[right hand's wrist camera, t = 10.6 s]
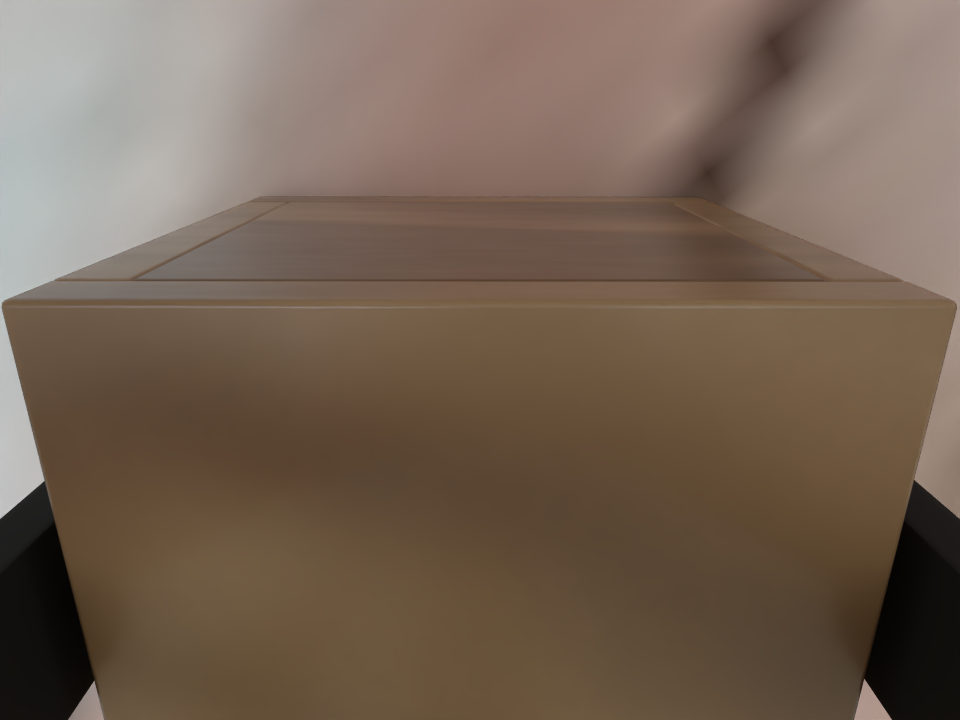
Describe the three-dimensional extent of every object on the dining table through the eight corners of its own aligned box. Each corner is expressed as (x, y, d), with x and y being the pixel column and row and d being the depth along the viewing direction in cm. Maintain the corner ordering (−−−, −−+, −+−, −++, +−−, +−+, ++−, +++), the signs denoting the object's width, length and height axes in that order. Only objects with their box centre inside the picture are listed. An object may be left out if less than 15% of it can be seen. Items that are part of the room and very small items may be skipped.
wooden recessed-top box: (631, 823, 23) (722, 1251, 14) (326, 823, 23) (234, 1251, 14) (700, 196, 16) (962, 301, 7) (257, 196, 16) (-4, 301, 7)
